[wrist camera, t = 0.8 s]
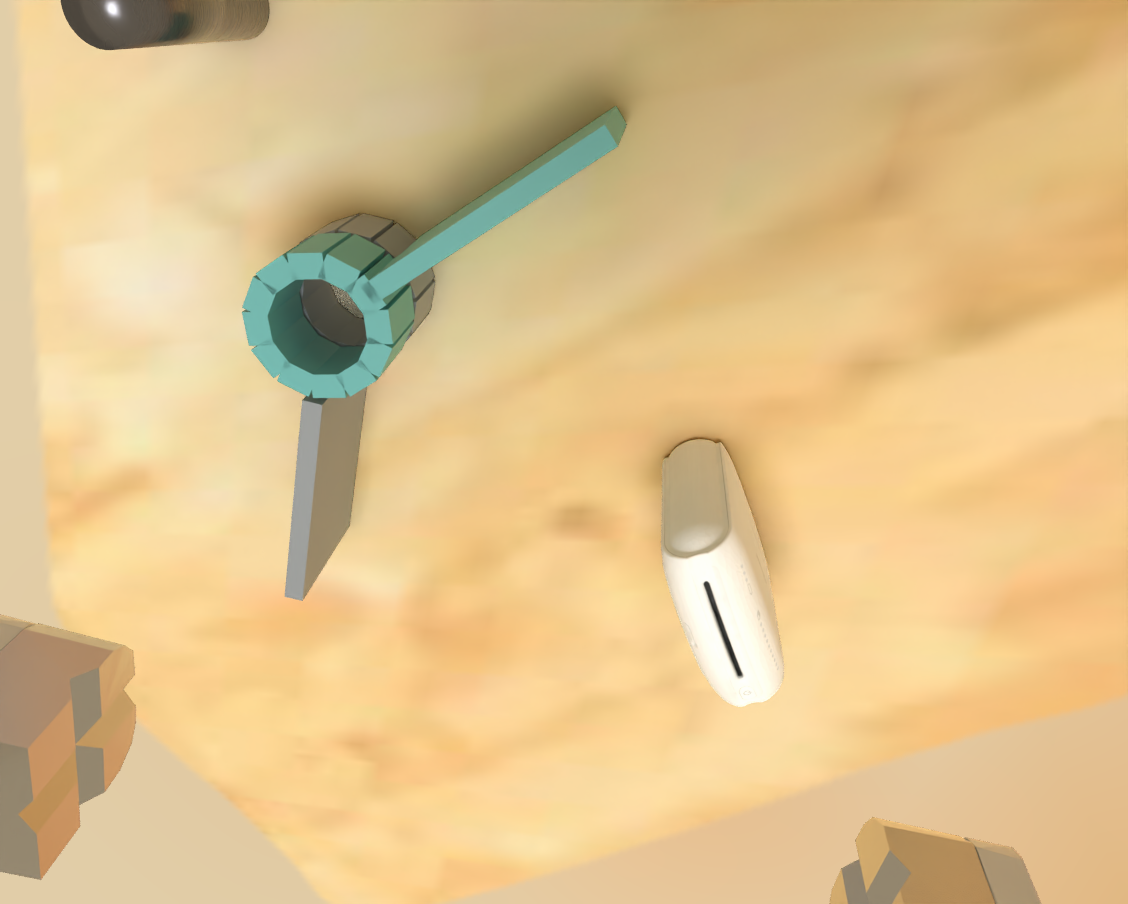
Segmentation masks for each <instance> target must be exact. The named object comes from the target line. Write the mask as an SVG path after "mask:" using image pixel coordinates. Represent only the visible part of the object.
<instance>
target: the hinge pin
mask: <svg viewBox="0 0 1128 904" xmlns="http://www.w3.org/2000/svg"><path fill="white" fill-rule="evenodd" d="M61 5H62V9H63V12H64V15H65V17H66V19H67V21H68V23H69V25H70V26H71V28H72V29H73V30H74V32H75V33H76V34H77V35H78V36H79V37H80V38H81V39H82V40H84V41H85V42H86V43H88V44H90V45H92V46H94V47H96V48H99V49H104V50H117V49H130V48H143V47H157V46H170V45H184V44H197V43H210V42H224V41H237V40H248V39H252V38H254V37H256V36H258V35H259V34H260V33H261V32H262V31H263V30H264V28H265V27H266V25H267V22H268V18H269V4H268V0H61Z"/></svg>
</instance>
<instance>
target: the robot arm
mask: <svg viewBox="0 0 1128 904" xmlns="http://www.w3.org/2000/svg"><path fill="white" fill-rule="evenodd" d="M134 675H135V669H134V656H133V650H131V649H129V648H128V647H126V646H125V645H121V644H117V643H113V642H109V641H105V640H102V639H98V638H94V637H90V636H86V635H82V634H78V633H74V632H70V631H67V630H63V629H59V628H54V627H51V626H47V625H43V624H39V623H38V624H35V623H31V622H27V621H23V620H20V619H15V618H12V617H8V616H4V615H1V614H0V872H5V873H9V874H15V875H19V876H24V877H30V878H34V879H40V880H41V879H42V878H43V876H44V875H45V874H46V872H47V871H48V869H49V868H50V867H51V865H52V864H53V863H54V861H55V860H56V858H57V857H58V856H59V854H60V853H61V852H62V850H63V849H64V847H65V846H66V845H67V843H68V842H69V841H70V839H71V838H72V837H73V835H74V834H75V832H76V831H77V830H78V828H79V827H80V812H79V805H80V804H82V803H84V802H86V801H88V800H90V799H92V798H94V797H96V796H98V795H100V794H102V793H104V792H105V791H106V789H107V788H108V787H109V785H110V784H111V782H112V781H113V780H114V778H115V777H116V775H117V774H118V772H119V771H120V769H121V767H122V764H123V762H124V760H125V757H126V755H127V753H128V750H129V748H130V746H131V744H132V739H133V734H134V729H135V724H136V706H135V704H134V703H133V702H132V700H131V699H130V697H129V696H128V695H127V693H126V692H125V691H124V688H125V686H126V685H127V684H128V683H129V681H130V680H131V679H132V678H133V676H134ZM855 841H856V846H857V851H858V856H859V860H857V861H855V862H853V863H851V864H849V865H847V866H845V867H844V868H841V871H840V873H839V875H838V877H837V879H836V882H835V884H834V886H833V888H832V892H831V897H830V903H829V904H1041V902H1040V899H1039V897H1038V895H1037V892H1036V890H1035V887H1034V885H1033V882H1032V880H1031V878H1030V875H1029V873H1028V871H1027V868H1026V866H1025V864H1024V861H1023V859H1022V857H1021V856H1020V855H1019V854H1018V853H1017V852H1016V851H1015V849H1014V848H1012V847H1008V846H1003V845H999V844H994V843H989V842H984V841H980V840H975V839H970V838H962V837H960V836H957V835H952V834H947V833H943V832H938V831H933V830H929V829H925V828H920V827H916V826H911V825H907V824H902V823H897V822H893V821H888V820H884V819H879V818H875V817H872V818H871V819H870V820H869V821H867V822H866V823H865V824H864V825H863V827H862V829H861V831H860V833H859V835H858V836H857V838H856V840H855Z"/></svg>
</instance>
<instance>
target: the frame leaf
mask: <svg viewBox="0 0 1128 904" xmlns="http://www.w3.org/2000/svg"><path fill="white" fill-rule="evenodd" d="M323 233H351V236H353V235H354V234H356V235H358V236H360V237H362V238H364V239H366V240H368V241H370V242H371V243H373V244H375V245H377V246H379V247H381V248H383V249H385V253H384V255H383V257H384V256H386V255H387V254H389V253H390V255H391V256H392V258H393V259H394V258H395V257H397V256H398V255H400V254H401V253H402V252H403V251H405V250H406V249H407V248H408V247H409V246H410V245H411V244H412V243H413V242H415V241H416V239H415V238H414V237H413V236H412V235H410V234H409V233H408V232H407V231H406V230H405V229H404V228H403V227H402V226H400V225H399V224H398V223H396V224H395V225H394V226H393V220H389V219H385V218H380V217H376V216H372V215H368V214H364V213H363V214H361V215H360V214H356V215H353V216H350V217H347V218H343V219H340V220H337V221H334V222H331V223H330V224H328V225H326V226H325V227H323V228H322V229H320V230H318V231H317V232H315V233H314V234H312V235H311V236H313V235H314V236H315V235H317V234H323ZM311 236H309V237H307V238H306V239H304V240H303V241H305V240H307V239H308V238H310V237H311ZM303 241H301V242H300V243H302V242H303ZM300 243H299V244H300ZM434 277H435V276H434V273H433V271H432V268H430V269H428V270H426V271H425V272H423V273H422V274H420V275H419V276H417V277H416V278H414V279H413V280H411V281H410V282H408V283H407V284H406V285H405V286H411V290H412V298H413V306H414V314H415V318H414V320H413V322H414V324H413V326H412V328H411V330H410V333H409V335H408V337H407V339H406V341H407V340H408V339H409V337H410V336H411V335H412V334H413V333H414V331H415V330H416V329H417V328H418V326H419V325H420V324H421V323H422V321H423V320H424V319H425V318H426V316H427V315H428V314H429V311H430V310H431V306H432V299H433V293H434V286H435V281H433V280H432V279H433V278H434ZM299 293H300V299H301V304H302V310H303V315H304V317H305V318H306V319H307V321H308V322H309V323H310V325H311V326H312V327H313V329H314V330H315V331H316V333H317V334H318V335H319V336H321V337H323V338H325V339H327V340H329V341H331V342H333V343H334V344H336V345H338V346H340V347H351V346H365V344H366V342H367V335H366V329H365V322H364V319H362V318H358V317H355V316H354V315H352V314H351V313H350V312H349V311H348V310H347V309H345V308H344V307H343V306H342V305H341V304H340V303H338V301H337V299H336V297H335V294H334V292H333V290H332V287H331V285H330V283H328V282H327V281H325V280H323V279H304V281H303V284H302V286H301V289H300V291H299ZM406 341H405V342H406ZM366 388H367V387H365V388H364V389H362V390H360V391H359V392H357V393H355V394H354V395H352V396H351V397H350V396H349V395H348V396H347V397H346V398H313V395H312V394H311V395H310V396H309V397H308V396H306V397H305V398H304V399H303V400H302V410H301V421H300V432H299V443H298V454H297V465H296V476H295V488H294V499H293V510H292V521H291V532H290V543H289V554H288V566H287V577H286V588H285V597H289V598H293V599H297V600H301V601H303V599H304V598H305V596H306V595H307V593H308V591H309V590H310V588H311V587H312V585H313V583H314V582H315V580H316V579H317V577H318V575H319V574H320V572H321V571H322V569H323V567H324V566H325V564H326V563H327V561H328V559H329V558H330V556H331V555H332V553H333V551H334V550H335V548H336V547H337V545H338V543H339V542H340V540H341V539H342V537H343V535H344V534H345V532H346V531H347V529H348V527H349V525H350V517H351V509H352V501H353V493H354V485H355V476H356V468H357V460H358V452H359V444H360V436H361V428H362V420H363V412H364V404H365V396H366Z"/></svg>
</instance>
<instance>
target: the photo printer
mask: <svg viewBox="0 0 1128 904" xmlns="http://www.w3.org/2000/svg"><path fill="white" fill-rule="evenodd" d="M661 551H662V559H663V568H664V573H665V577H666V580H667V583H668V587H669V590H670V593H671V596H672V600H673V603H674V606H675V608H676V611H677V614H678V617H679V620H680V622H681V625H682V628H683V630H684V633H685V635H686V638H687V640H688V642H689V645H690V647H691V650H692V652H693V654H694V656H695V659H696V661H697V663H698V665H699V667H700V669H701V671H702V673H703V675H704V676H705V677H706V679H707V681H708V682H709V683H710V685H711V686H712V688H713V689H714V690H715V691H716V692H717V693H718V695H719V696H720V697H721V698H722V699H724V700H725V701H726V702H728V703H730V704H732V705H735V706H738V707H743V706H745V705H747V704H750V703H754V702H764V701H766V700H768V699H769V698H770V697H772V696H773V695H774V694H775V693H776V691H777V690H778V689H779V687H780V686H781V684H782V681H783V678H784V661H783V653H782V647H781V641H780V635H779V629H778V624H777V618H776V612H775V606H774V600H773V594H772V588H771V583H770V577H769V572H768V567H767V562H766V558H765V554H764V551H763V547H762V544H761V541H760V537H759V534H758V531H757V528H756V525H755V521H754V518H753V515H752V513H751V510H750V507H749V504H748V501H747V498H746V496H745V493H744V490H743V487H742V485H741V482H740V480H739V477H738V474H737V472H736V469H735V467H734V464H733V462H732V460H731V458H730V456H729V454H728V452H727V451H726V449H725V447H724V446H723V444H722V443H721V442H719V443H714V442H713V441H710V440H704V439H697V440H691V441H687V442H685V443H683V444H680V445H679V446H678V447H676V448H675V449H674V450H673V451H672V452H671V454H670V456H669V457H668V458H664V459H663V464H662V524H661Z"/></svg>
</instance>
